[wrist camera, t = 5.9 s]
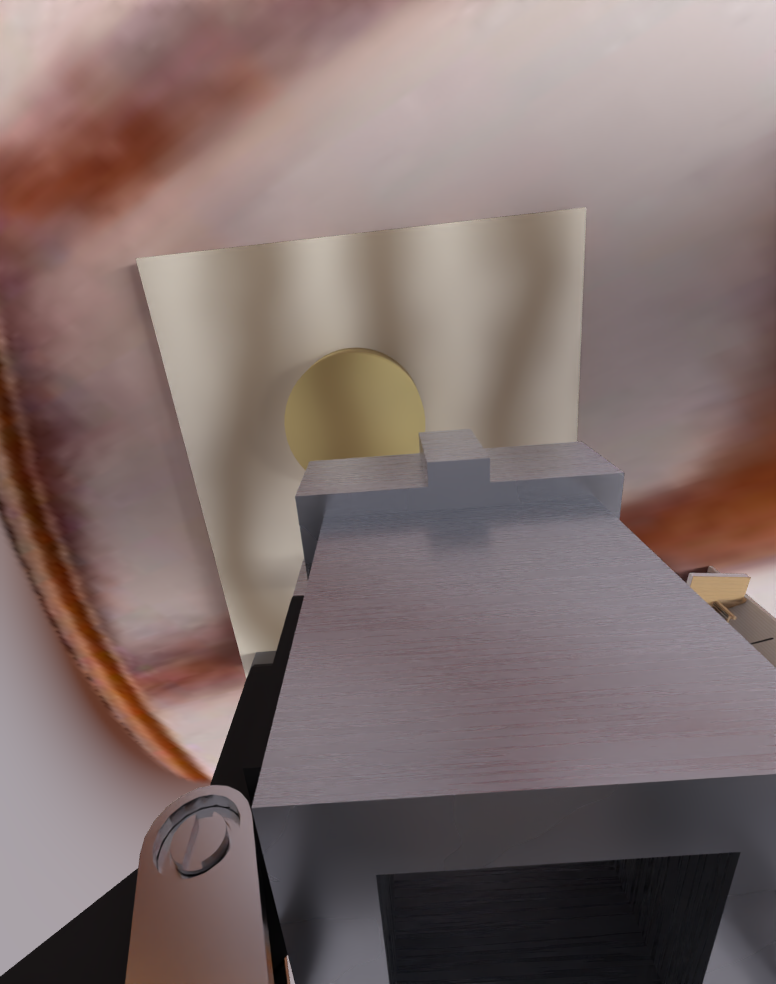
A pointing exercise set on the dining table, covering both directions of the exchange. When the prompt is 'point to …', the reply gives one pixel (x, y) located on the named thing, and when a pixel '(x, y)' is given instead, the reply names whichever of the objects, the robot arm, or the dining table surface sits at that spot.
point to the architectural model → (737, 608)
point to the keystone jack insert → (512, 737)
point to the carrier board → (357, 296)
